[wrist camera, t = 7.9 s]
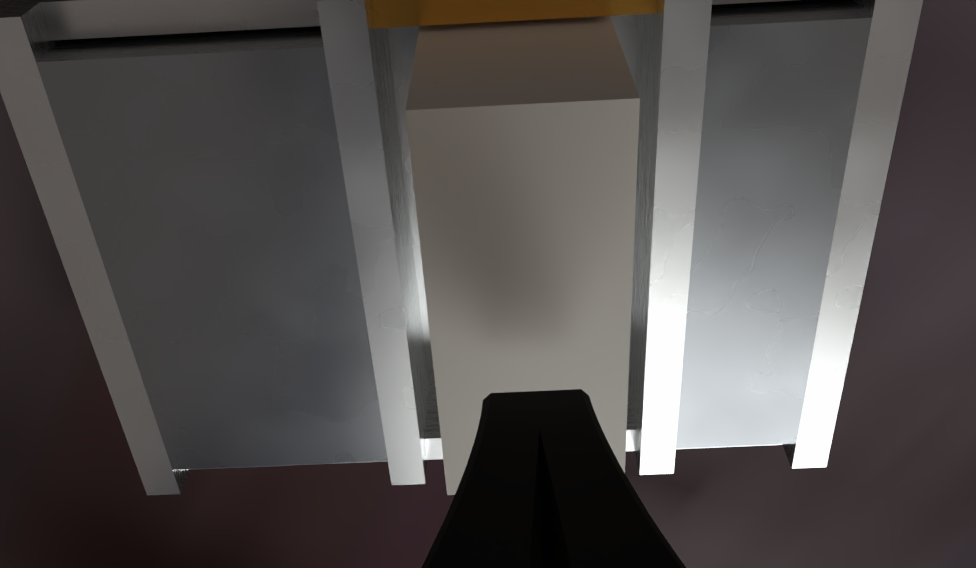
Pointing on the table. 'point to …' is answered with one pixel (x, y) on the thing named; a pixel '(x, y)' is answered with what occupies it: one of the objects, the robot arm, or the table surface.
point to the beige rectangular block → (525, 216)
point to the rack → (394, 228)
